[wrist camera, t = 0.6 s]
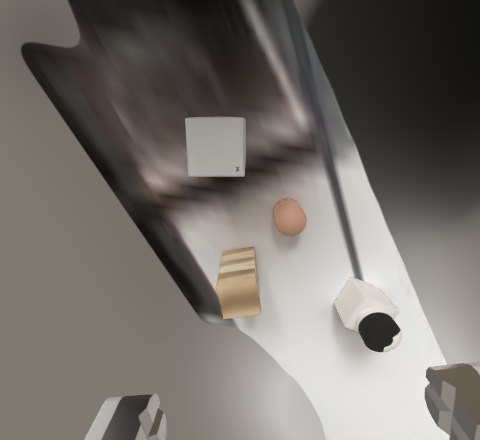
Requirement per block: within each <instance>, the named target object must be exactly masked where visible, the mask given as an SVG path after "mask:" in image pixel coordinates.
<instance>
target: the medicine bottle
mask: <svg viewBox="0 0 480 440" xmlns="http://www.w3.org/2000/svg"><path fill="white" fill-rule="evenodd" d="M334 306H335V308H336V310H337V312H338V314H339V316H340V318H341V321H342V323H343V325H344V327H345V328H347V329H350V330H353V331H355V332H358V333H360V335H361V337H362V339H363V341H364V343H365V345H366V346H367V347H368V348H369V349H371V350H373V351H376V352H387V351H390V350H392V349H394V348H395V347H396V346H398V344H399V343H400V341H401V338H402V332H401V330H400V328H399V327H398V325H397V324H396V323H395V321H394V320H393V319H394V318H395V317H396V316H397V314H398V313H399V310H398V309H397V307H396V306H395V305H394V304H393V302H392V301H391V300H390V299H389V297H388V296H387V295H386V294H385V292H384V291H383V290H382V289H381V288H379V287H377V286H374V285H371V284H369V283H366V282H364V281H361V280H359V279H356V278H354V277H350V279H349V280H348V282H347V283H346V285H345V286H344V288H343V289H342V291H341V292H340V294H339V295H338V297H337V299H336V300H335V302H334Z"/></svg>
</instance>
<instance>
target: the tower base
mask: <svg viewBox="0 0 480 440" xmlns="http://www.w3.org/2000/svg"><path fill="white" fill-rule="evenodd" d="M249 257H254V259H255V265H256V271H257V277H258V270H257V264H256V258H255V252H254V247H250V248H243V249H236V250H228V251H223V254H222V259H221V261H227V260H234V259H241V258H249ZM258 283H259V278H258Z"/></svg>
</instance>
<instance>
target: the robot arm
mask: <svg viewBox="0 0 480 440" xmlns="http://www.w3.org/2000/svg"><path fill="white" fill-rule="evenodd" d="M426 378H427V379H428V381H429V382H430V383H429V385H428V386H427V387H426V388H425V400H426V404H427V407H428V410H429V412H430V414H431V416H432V418H433V419H434V421H435V423H436V424H437V426H438V427H439V428H441V429H442V430H443V431H445V432H446V433H447V434H449V435H450V438H449V440H480V362H477V363H468V364H464V363H462V364H453V365H444V366H435V367H429V368H428V369H427V370H426ZM159 403H160V401H159V398H158V396H157V394H153V395H137V396H122V397H110V398H108V399H107V400H106V401H105V402H104V403H103V405H102V407H101V409H100V411H99V413H98V415H97V417H96V419H95V421H94V422H93V424H92V426H91V428H90V430H89V432H88V434H87V436H86V438H85V440H165V437H166V426H167V425H166V417H165V415H164V412H163V411H162V410H160V409H159V408H158V406H159Z"/></svg>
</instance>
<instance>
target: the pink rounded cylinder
mask: <svg viewBox="0 0 480 440" xmlns="http://www.w3.org/2000/svg"><path fill="white" fill-rule="evenodd" d="M273 215H274V219H275V223H276V226H277V228H278V230H279V231H280V232H281V233H283V234H285V235H289V236H292V235H296V234H298V233H300V232H301V231H302V230H303V229H304V228H305V226H306V216H305V214H304V212H303V210H302V209H301V207H300V205H299V204H298V203H297V202H296V201H295V200H292V199H283V200H281V201H279V202H278V203H277V204H276V205H275V207H274V210H273Z"/></svg>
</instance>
